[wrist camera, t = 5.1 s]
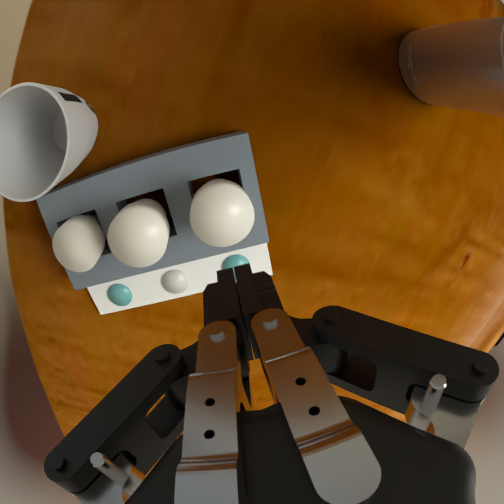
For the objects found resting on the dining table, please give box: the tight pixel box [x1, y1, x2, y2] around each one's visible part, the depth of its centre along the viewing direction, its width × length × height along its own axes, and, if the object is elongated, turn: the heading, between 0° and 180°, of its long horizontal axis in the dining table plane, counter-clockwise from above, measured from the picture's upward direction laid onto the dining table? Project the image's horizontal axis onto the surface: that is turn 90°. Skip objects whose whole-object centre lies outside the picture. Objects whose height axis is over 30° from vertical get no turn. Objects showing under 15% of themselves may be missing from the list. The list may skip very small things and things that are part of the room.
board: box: [36, 131, 269, 290], centre depth 27 cm, size 20×10×3 cm, turn 102°
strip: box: [87, 243, 273, 315], centre depth 31 cm, size 20×4×1 cm, turn 102°
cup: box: [0, 82, 98, 202], centre depth 19 cm, size 8×8×10 cm
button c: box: [52, 211, 106, 272], centre depth 25 cm, size 5×5×5 cm
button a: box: [190, 179, 255, 247], centre depth 24 cm, size 5×5×5 cm
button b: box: [107, 198, 170, 268], centre depth 23 cm, size 5×5×5 cm
